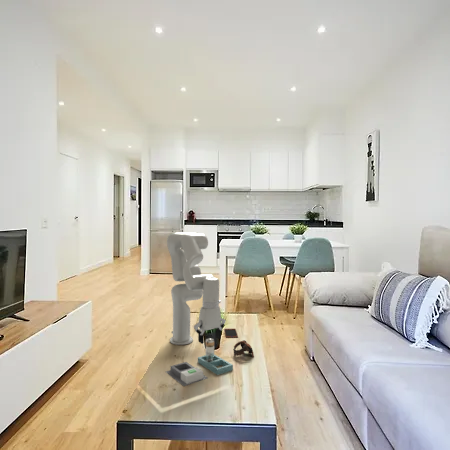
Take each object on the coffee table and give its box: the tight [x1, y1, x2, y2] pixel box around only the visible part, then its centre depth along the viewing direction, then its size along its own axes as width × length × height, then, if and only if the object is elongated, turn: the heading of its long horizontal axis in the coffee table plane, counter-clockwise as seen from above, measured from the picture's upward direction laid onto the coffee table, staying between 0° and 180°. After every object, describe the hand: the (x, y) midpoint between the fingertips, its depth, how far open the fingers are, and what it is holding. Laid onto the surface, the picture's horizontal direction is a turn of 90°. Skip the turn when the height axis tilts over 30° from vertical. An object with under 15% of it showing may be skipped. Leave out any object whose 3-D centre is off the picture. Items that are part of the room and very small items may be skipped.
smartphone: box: [223, 328, 239, 339], centre depth 207 cm, size 7×1×15 cm
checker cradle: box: [165, 361, 209, 387], centre depth 151 cm, size 16×12×5 cm
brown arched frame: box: [233, 340, 255, 358], centre depth 176 cm, size 12×10×8 cm
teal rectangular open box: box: [197, 353, 234, 376], centre depth 160 cm, size 16×8×4 cm, turn 37°
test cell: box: [205, 337, 215, 362], centre depth 163 cm, size 4×4×12 cm
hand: (209, 340), depth 163 cm, fingers open, 9 cm apart
